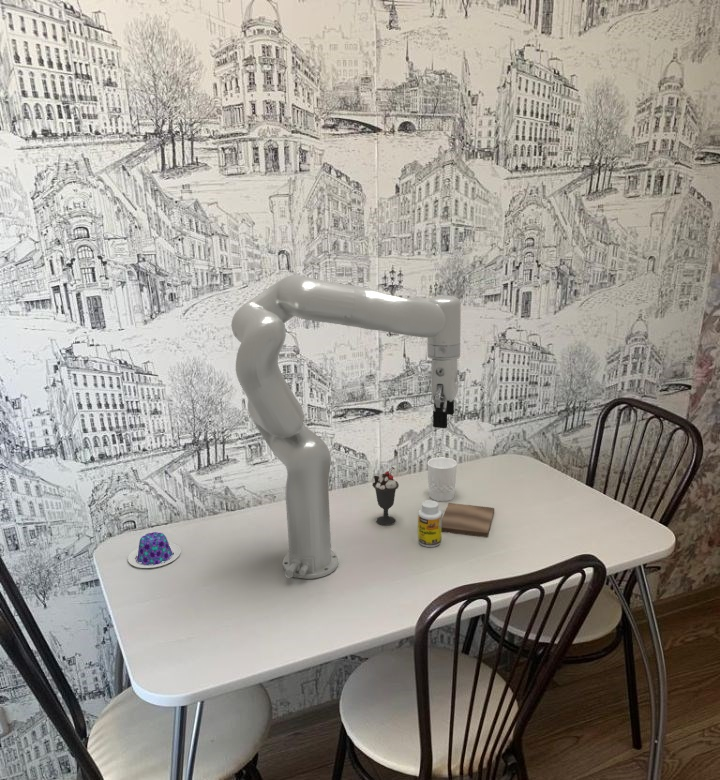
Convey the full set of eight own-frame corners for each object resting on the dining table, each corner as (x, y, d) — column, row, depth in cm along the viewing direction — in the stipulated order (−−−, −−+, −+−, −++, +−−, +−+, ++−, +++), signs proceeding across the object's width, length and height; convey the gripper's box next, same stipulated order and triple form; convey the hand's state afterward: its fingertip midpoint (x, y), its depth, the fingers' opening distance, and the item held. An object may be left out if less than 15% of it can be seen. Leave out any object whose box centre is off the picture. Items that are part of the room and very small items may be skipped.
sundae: (403, 523, 173) (403, 469, 169) (379, 529, 171) (378, 473, 166) (392, 513, 179) (392, 460, 175) (369, 518, 177) (368, 464, 172)
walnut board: (487, 537, 165) (487, 532, 165) (438, 531, 169) (438, 526, 169) (494, 512, 178) (494, 507, 178) (448, 506, 182) (448, 502, 181)
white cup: (428, 489, 192) (428, 456, 190) (456, 490, 191) (456, 457, 188) (426, 502, 185) (426, 467, 182) (456, 503, 184) (456, 468, 181)
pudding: (130, 575, 153) (127, 554, 152) (125, 551, 164) (123, 531, 162) (184, 563, 157) (182, 543, 156) (176, 540, 168) (174, 521, 167)
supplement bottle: (415, 546, 162) (415, 506, 159) (421, 535, 167) (421, 497, 164) (437, 549, 160) (438, 510, 157) (443, 538, 165) (444, 500, 162)
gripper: (454, 359, 148) (453, 434, 153) (465, 342, 164) (464, 410, 169) (420, 358, 150) (420, 431, 155) (434, 341, 166) (434, 408, 171)
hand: (443, 420), depth 162 cm, fingers open, 9 cm apart
